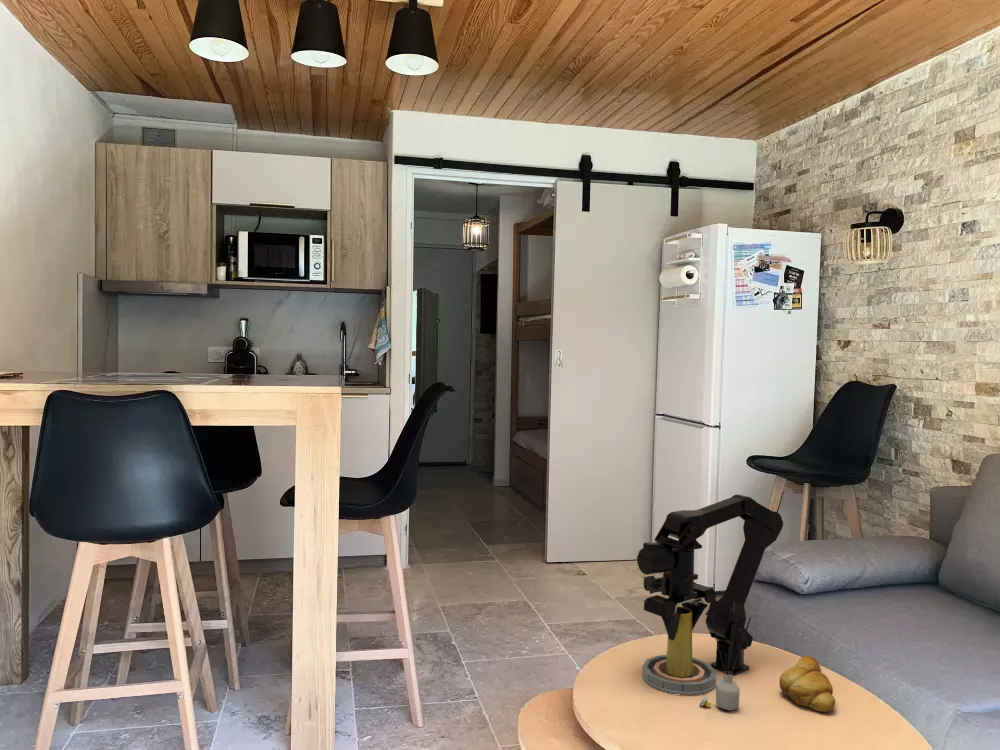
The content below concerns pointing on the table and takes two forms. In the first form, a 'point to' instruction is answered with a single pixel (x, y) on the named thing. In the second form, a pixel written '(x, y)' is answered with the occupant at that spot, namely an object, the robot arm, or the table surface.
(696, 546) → the robot arm
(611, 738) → the table surface
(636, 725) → the table surface
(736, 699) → the reed diffuser
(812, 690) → the bread roll
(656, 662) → the grooved tray
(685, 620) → the vase
